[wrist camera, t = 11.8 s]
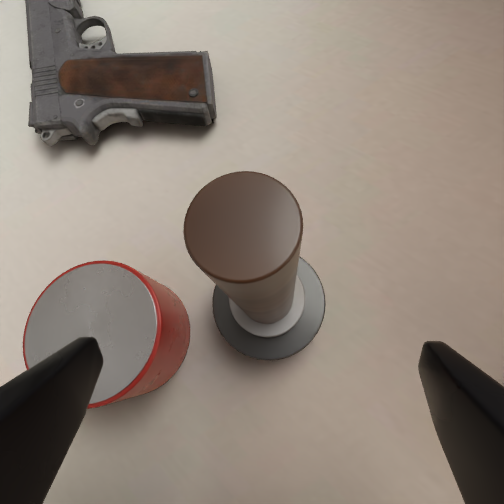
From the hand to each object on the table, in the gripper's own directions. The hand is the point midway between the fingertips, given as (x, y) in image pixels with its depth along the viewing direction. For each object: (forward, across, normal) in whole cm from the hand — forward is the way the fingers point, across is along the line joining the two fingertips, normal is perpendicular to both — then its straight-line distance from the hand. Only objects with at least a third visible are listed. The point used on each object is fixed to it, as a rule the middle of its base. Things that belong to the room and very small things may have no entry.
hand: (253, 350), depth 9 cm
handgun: (+25, +13, -9) cm, 30 cm away
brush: (+10, 0, +6) cm, 11 cm away
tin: (+8, +8, +7) cm, 14 cm away
